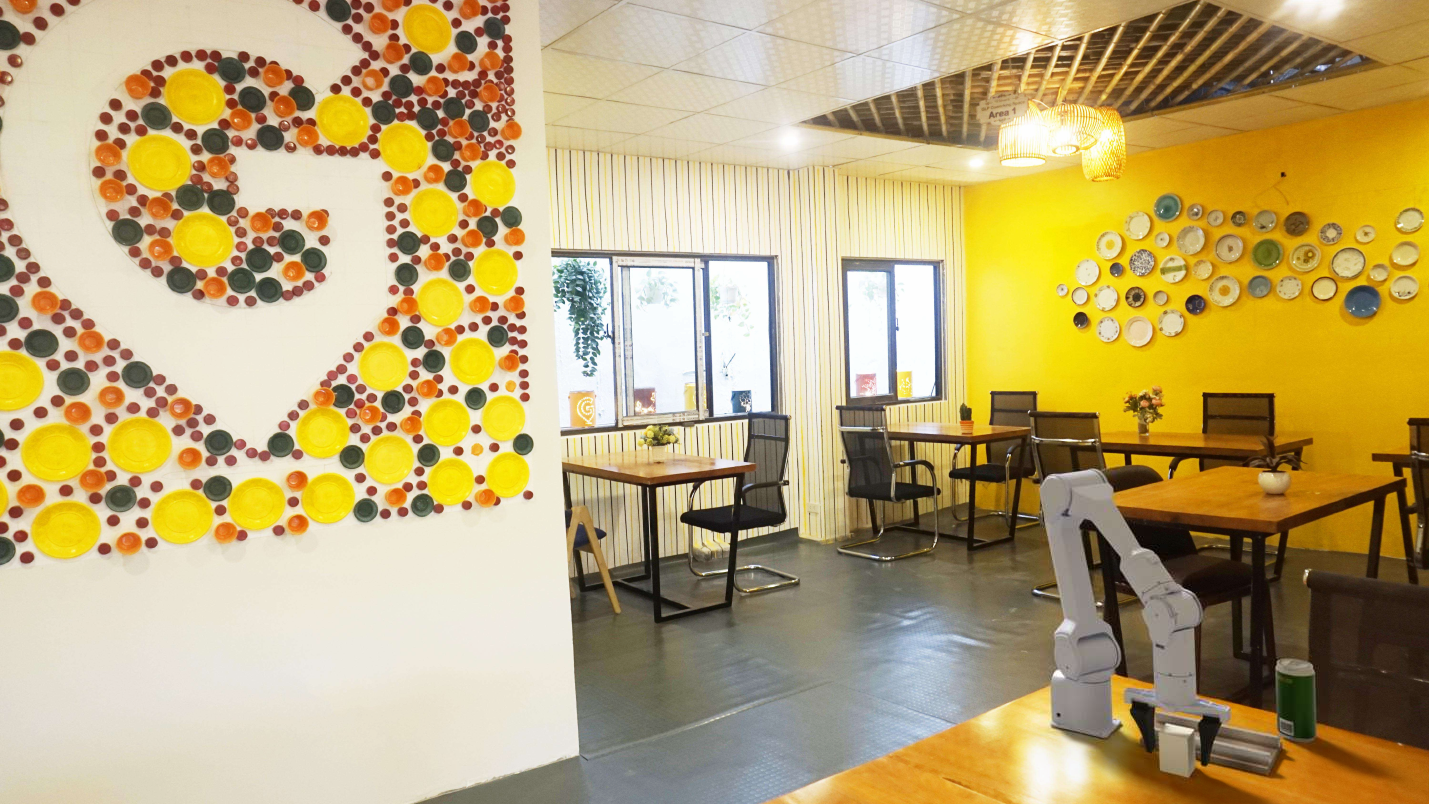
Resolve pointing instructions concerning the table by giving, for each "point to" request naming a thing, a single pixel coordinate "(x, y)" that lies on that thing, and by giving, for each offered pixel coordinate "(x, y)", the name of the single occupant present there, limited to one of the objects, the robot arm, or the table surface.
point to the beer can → (1296, 700)
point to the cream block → (1177, 750)
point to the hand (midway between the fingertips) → (1177, 757)
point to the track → (1229, 744)
